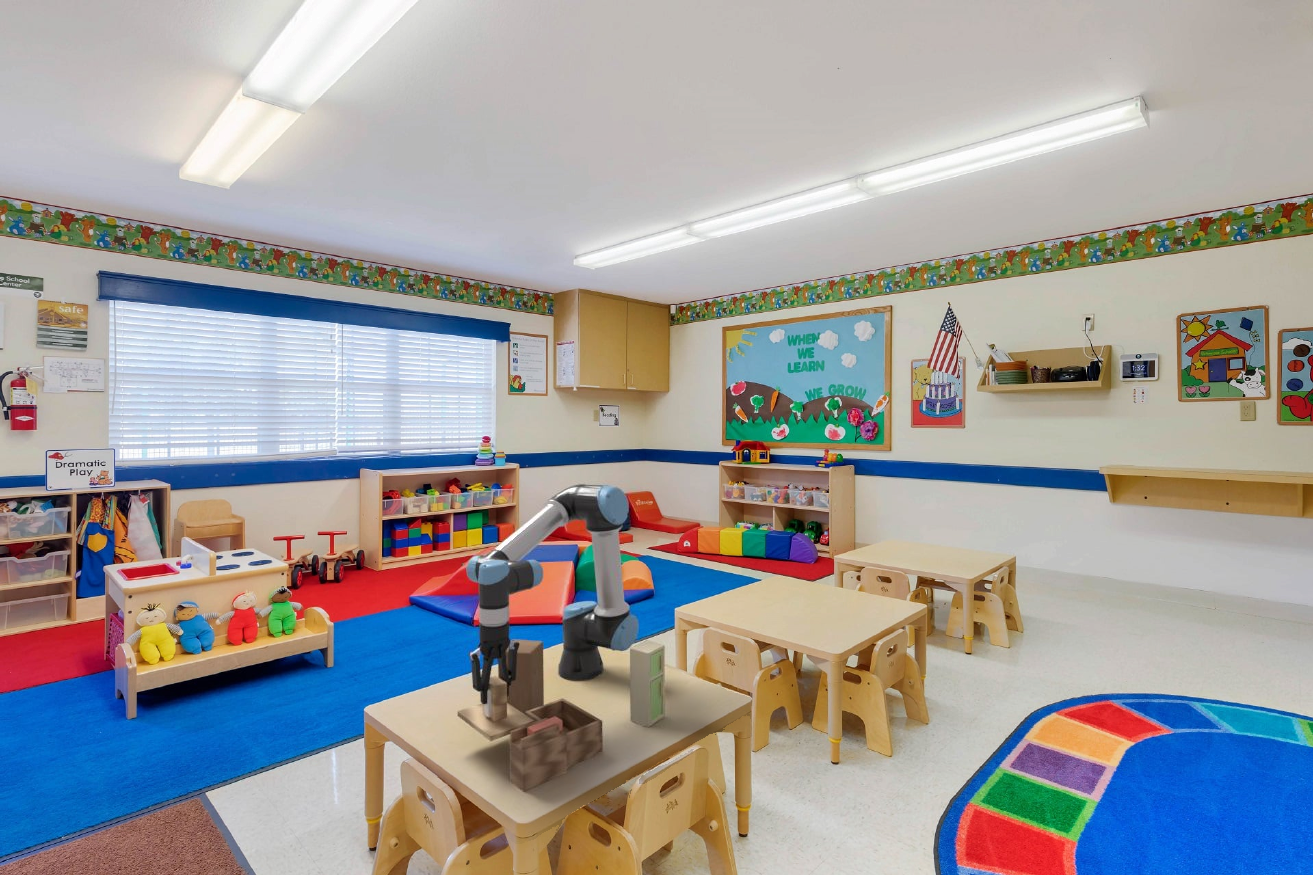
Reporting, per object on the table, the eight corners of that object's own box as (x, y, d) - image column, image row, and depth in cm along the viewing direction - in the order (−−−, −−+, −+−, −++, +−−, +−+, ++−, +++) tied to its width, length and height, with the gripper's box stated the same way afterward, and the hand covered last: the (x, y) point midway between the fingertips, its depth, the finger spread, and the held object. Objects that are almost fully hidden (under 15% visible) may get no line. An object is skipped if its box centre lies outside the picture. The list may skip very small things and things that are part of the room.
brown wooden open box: (563, 726, 175) (562, 684, 175) (606, 753, 161) (605, 707, 160) (483, 758, 159) (482, 711, 159) (523, 791, 145) (522, 740, 144)
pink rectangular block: (555, 726, 156) (555, 716, 155) (562, 730, 153) (562, 720, 153) (527, 737, 150) (527, 726, 150) (533, 742, 148) (533, 731, 148)
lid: (499, 701, 173) (498, 665, 172) (534, 725, 159) (533, 685, 159) (457, 715, 165) (457, 677, 164) (490, 741, 151) (490, 699, 151)
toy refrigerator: (650, 728, 174) (649, 653, 173) (629, 720, 178) (629, 647, 178) (667, 717, 180) (667, 644, 179) (647, 710, 184) (646, 639, 184)
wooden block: (531, 723, 177) (530, 652, 177) (498, 720, 179) (497, 650, 179) (544, 707, 187) (543, 640, 186) (513, 704, 189) (512, 638, 188)
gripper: (515, 612, 170) (516, 698, 170) (457, 625, 159) (457, 717, 159) (530, 618, 164) (530, 707, 165) (470, 632, 153) (471, 728, 154)
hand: (495, 712), depth 162 cm, fingers closed on lid, 3 cm apart
